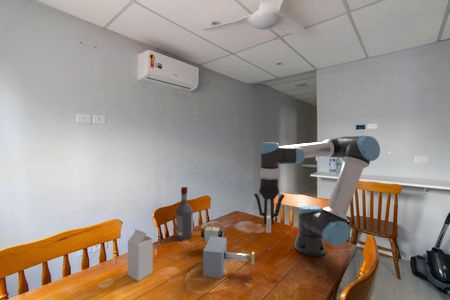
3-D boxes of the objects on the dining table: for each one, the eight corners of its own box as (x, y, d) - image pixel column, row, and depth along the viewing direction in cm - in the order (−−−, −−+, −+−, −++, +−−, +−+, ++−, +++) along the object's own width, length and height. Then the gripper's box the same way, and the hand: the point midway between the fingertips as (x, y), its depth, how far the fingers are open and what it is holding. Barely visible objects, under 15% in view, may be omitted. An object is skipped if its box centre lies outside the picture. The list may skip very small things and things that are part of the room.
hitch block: (226, 260, 101) (226, 237, 100) (221, 278, 87) (221, 252, 86) (210, 258, 102) (210, 236, 101) (203, 276, 88) (203, 250, 88)
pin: (254, 260, 94) (254, 250, 94) (254, 266, 89) (254, 255, 89) (220, 257, 96) (220, 247, 96) (218, 263, 91) (219, 252, 91)
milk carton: (138, 282, 84) (138, 235, 84) (127, 276, 88) (127, 231, 87) (152, 272, 90) (152, 229, 90) (142, 267, 94) (142, 226, 93)
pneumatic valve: (222, 252, 108) (222, 229, 108) (200, 249, 110) (200, 227, 110) (224, 247, 113) (224, 225, 113) (203, 244, 116) (203, 223, 115)
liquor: (188, 232, 132) (188, 185, 131) (194, 237, 124) (194, 188, 123) (174, 235, 127) (174, 187, 126) (179, 241, 119) (179, 189, 119)
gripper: (284, 176, 92) (283, 229, 93) (253, 176, 94) (253, 227, 95) (286, 179, 85) (285, 236, 86) (253, 178, 87) (252, 234, 88)
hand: (268, 231), depth 90 cm, fingers closed
